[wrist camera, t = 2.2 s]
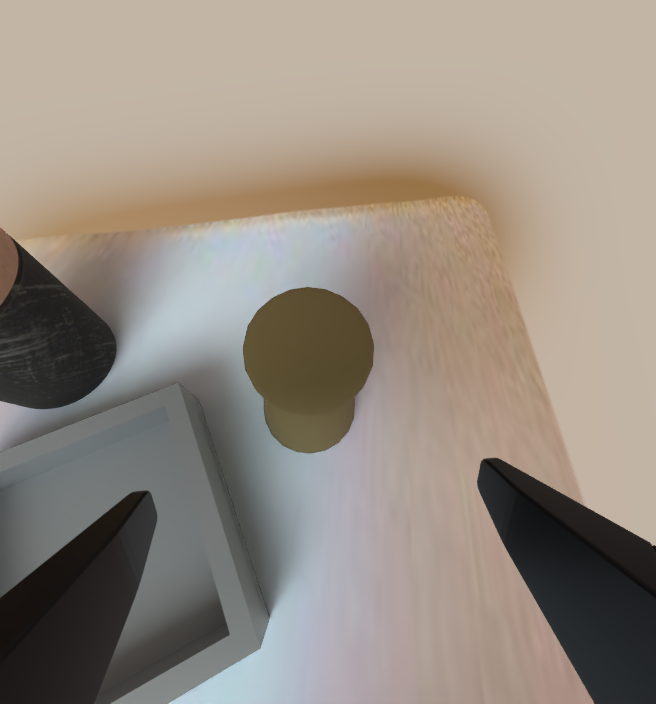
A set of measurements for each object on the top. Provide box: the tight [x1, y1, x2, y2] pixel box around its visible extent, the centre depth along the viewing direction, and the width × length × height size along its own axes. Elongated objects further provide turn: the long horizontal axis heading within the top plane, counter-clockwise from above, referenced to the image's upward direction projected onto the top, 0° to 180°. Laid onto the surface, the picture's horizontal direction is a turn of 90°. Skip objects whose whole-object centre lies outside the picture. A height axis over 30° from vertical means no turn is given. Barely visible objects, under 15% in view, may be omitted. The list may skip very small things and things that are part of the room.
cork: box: [243, 287, 374, 453], centre depth 17 cm, size 6×6×11 cm
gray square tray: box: [0, 383, 270, 704], centre depth 16 cm, size 13×13×4 cm
